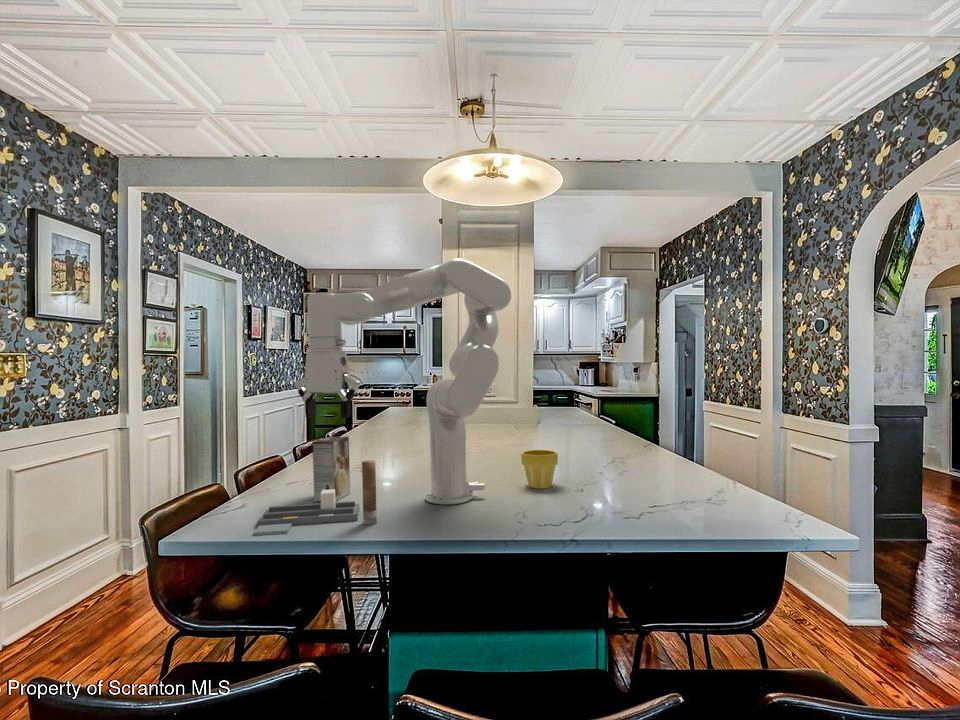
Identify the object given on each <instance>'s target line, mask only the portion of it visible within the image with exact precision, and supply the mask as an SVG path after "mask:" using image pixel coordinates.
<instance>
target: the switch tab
mask: <svg viewBox="0 0 960 720" xmlns="http://www.w3.org/2000/svg"><path fill="white" fill-rule="evenodd" d="M320 495H321V502H320V503H321V509H335V508H336V502H337V501H335V489H330V490H322V492H321V494H320Z"/></svg>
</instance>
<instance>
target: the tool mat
mask: <svg viewBox="0 0 960 720" xmlns="http://www.w3.org/2000/svg"><path fill="white" fill-rule="evenodd" d="M292 526H293V525H292V523H287V524H273V525H259V526H258V525H257V528H256V529H255V531H253V536H263V535H264V536H265V535H266V536H267V535H279V534H280V535H281V534H288V533H289V531H290V530H291V528H292Z"/></svg>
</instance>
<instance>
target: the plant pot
mask: <svg viewBox="0 0 960 720" xmlns="http://www.w3.org/2000/svg"><path fill="white" fill-rule="evenodd" d="M520 454H521V455H520V458H521V460H520V461H521V464H522V465H523V468H524V472H525V475H526V479H527V480H526V481H527V485H528V487H529V488H533V489H536V490H537V489H538V490H540V489H541V490H543V489H545V490H546V489H549V488H552V486H553V481H554V475H555V470H556V466H557V465H558V463H559V462H558V460H559V458H558V456H559V454H558V452H557V451H555V450H551V449H528V450H524V451H522V452H520Z"/></svg>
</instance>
